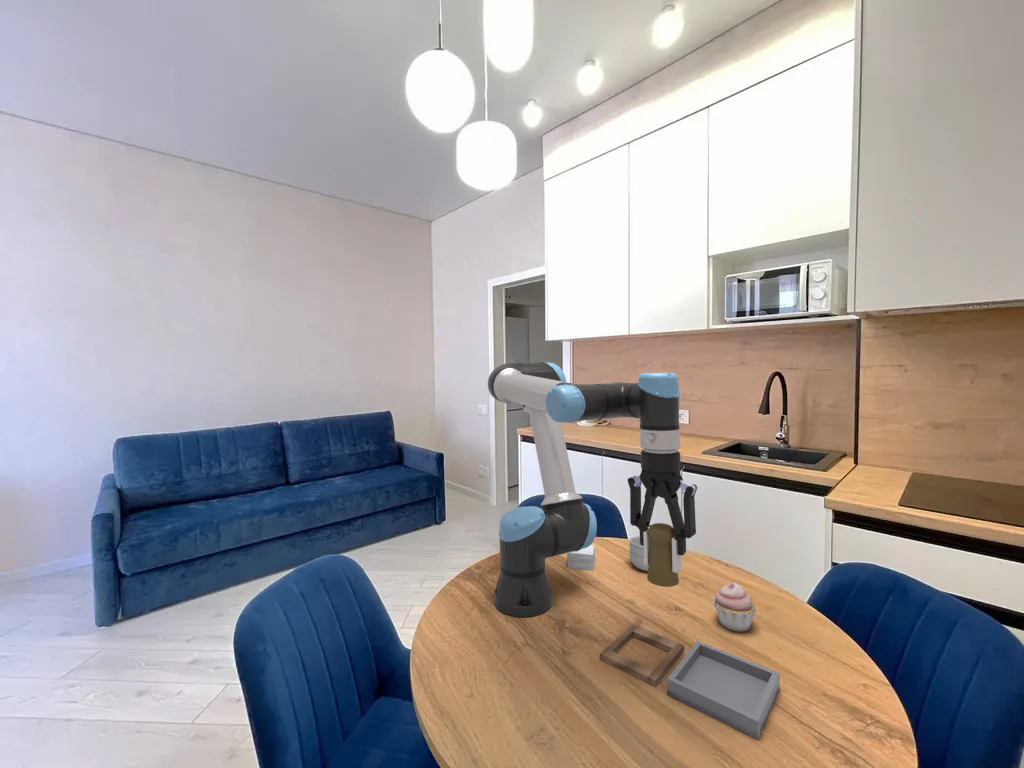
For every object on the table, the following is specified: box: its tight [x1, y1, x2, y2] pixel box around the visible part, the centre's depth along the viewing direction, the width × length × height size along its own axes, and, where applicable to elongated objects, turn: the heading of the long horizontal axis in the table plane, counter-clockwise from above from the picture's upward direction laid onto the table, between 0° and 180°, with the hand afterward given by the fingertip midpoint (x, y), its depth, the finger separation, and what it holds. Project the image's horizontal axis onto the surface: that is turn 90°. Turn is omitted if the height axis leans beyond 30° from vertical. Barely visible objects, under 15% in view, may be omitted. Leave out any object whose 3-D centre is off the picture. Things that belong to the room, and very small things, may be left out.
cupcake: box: [712, 581, 758, 633], centre depth 102 cm, size 9×9×10 cm
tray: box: [666, 640, 781, 740], centre depth 81 cm, size 15×15×3 cm
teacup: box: [628, 535, 649, 572], centre depth 131 cm, size 14×11×8 cm
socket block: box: [599, 623, 685, 687], centre depth 92 cm, size 12×14×1 cm
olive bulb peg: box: [646, 522, 680, 588], centre depth 88 cm, size 6×6×11 cm
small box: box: [566, 544, 596, 571], centre depth 136 cm, size 8×8×5 cm
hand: (662, 565), depth 88 cm, fingers closed on olive bulb peg, 5 cm apart
